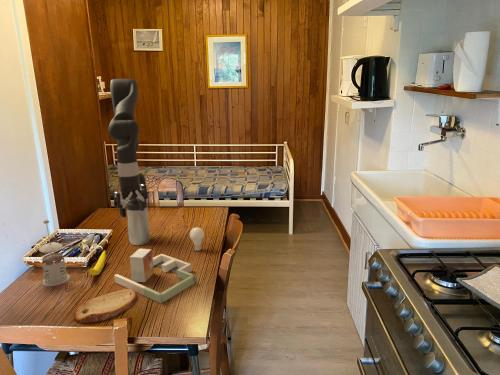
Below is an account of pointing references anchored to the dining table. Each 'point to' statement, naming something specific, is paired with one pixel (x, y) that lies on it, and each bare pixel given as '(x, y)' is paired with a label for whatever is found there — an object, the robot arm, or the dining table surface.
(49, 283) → the french press
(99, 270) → the banana
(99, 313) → the bread slice
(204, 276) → the dining table surface
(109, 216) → the dining table surface
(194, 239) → the lightbulb
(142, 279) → the small box
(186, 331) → the dining table surface
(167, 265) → the channel
